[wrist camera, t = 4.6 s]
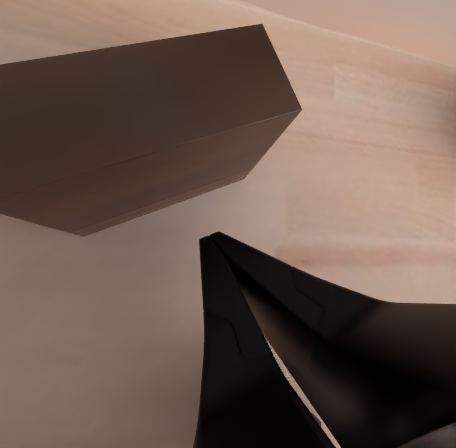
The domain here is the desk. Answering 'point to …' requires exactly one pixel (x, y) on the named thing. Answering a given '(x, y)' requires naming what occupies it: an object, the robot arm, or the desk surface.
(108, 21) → the desk surface
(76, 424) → the desk surface
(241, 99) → the walnut bookend
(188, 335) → the desk surface
